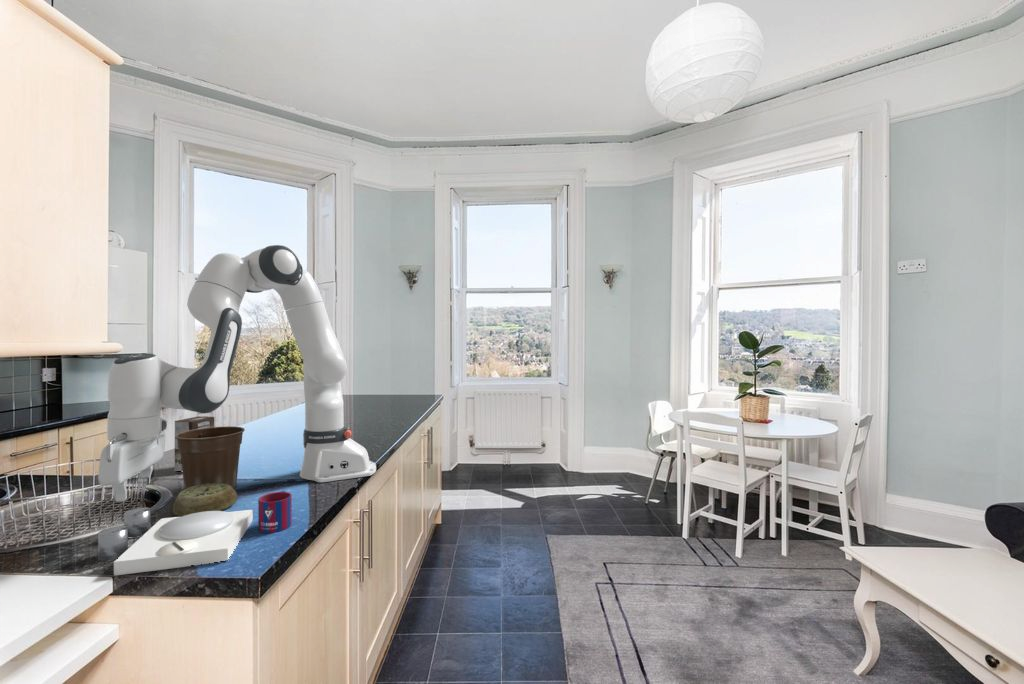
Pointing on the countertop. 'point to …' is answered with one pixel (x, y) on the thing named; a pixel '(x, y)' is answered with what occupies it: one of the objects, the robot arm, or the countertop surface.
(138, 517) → the spacer
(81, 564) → the countertop surface
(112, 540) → the spacer
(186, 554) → the scale
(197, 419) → the coffee box
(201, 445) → the plant pot
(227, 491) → the olive green round disc
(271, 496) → the mug
